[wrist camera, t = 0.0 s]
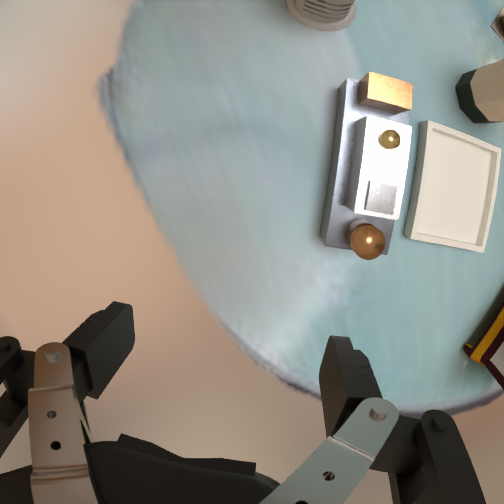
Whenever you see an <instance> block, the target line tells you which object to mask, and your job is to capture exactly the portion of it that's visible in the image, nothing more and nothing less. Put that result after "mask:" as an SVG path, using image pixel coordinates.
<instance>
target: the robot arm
mask: <svg viewBox="0 0 504 504" xmlns="http://www.w3.org/2000/svg"><path fill="white" fill-rule="evenodd" d="M134 342H135V332H134V320H133V309H132V306H131V305H129V304H124V303H120V302H115V301H114V302H112V303H111V304H110V305H109V306H108V307H107V308H106V309H105V310H100V311H98V312H96V313H94V314H92V315H91V316H89V318H87V319H86V320H85V322H83V323H82V324H81V325H80V326H79V327H78V328H77V329H76V330H75V331H74V332H73V333H72V334H70V335H69V336H68V337H67V338H66V339H65V340H64V341H63V342H62V343H58V342H52V343H47V344H44V345H42V346H41V347H39V348H38V349H37V351H36V352H33V351H26V350H22V349H21V346H20V343H19V341H18V340H17V339H16V338H14V337H10V336H5V337H1V338H0V384H1V383H2V382H3V384H4V386H5V388H6V391H5V392H4V393H3V395H2V396H1V397H0V458H1V456H2V455H3V453H4V452H5V450H6V449H7V447H8V446H9V444H10V443H11V441H12V440H13V438H14V437H15V435H16V434H17V432H18V431H19V430H20V428H21V427H22V425H23V424H24V422H25V421H26V420H27V418H28V417H29V435H30V448H31V457H32V465H29V466H26V467H23V468H19V469H16V470H13V471H10V472H6V473H3V474H0V504H343V503H344V502H345V501H346V499H347V498H348V497H349V496H350V494H351V493H352V492H353V490H354V489H355V487H356V486H357V485H358V483H359V482H360V481H361V479H362V477H363V476H364V475H365V473H366V472H367V470H368V469H372V470H377V471H382V472H388V475H389V481H390V487H391V493H392V500H393V504H486V502H485V499H484V495H483V492H482V490H481V487H480V484H479V481H478V478H477V476H476V473H475V470H474V467H473V465H472V463H471V460H470V457H469V455H468V452H467V450H466V447H465V445H464V442H463V440H462V438H461V435H460V433H459V431H458V428H457V426H456V424H455V422H454V420H453V418H452V417H451V416H450V415H448V414H447V413H445V412H443V411H440V410H429V411H426V412H425V413H424V414H423V415H422V417H421V418H420V419H415V418H410V417H405V416H401V415H399V413H398V410H397V408H396V407H395V406H394V405H393V404H392V403H391V402H389V401H387V400H385V399H383V398H382V395H381V392H380V389H379V387H378V384H377V381H376V378H375V376H374V373H373V370H372V368H371V365H370V363H369V360H368V358H367V357H366V356H365V355H364V354H363V353H362V352H361V351H360V350H354V349H353V346H352V343H351V341H350V338H349V337H342V336H330V337H329V339H328V342H327V346H326V349H325V353H324V356H323V360H322V363H321V367H320V372H319V384H320V391H321V398H322V405H323V413H324V420H325V428H326V436H327V438H326V439H325V440H324V442H323V443H322V444H321V445H320V446H319V447H318V448H317V449H316V450H315V451H314V452H313V453H312V454H311V455H310V456H309V457H308V459H307V460H306V461H305V462H304V463H303V464H302V465H301V466H300V467H299V468H298V469H296V470H295V471H294V472H293V473H292V474H291V475H290V476H289V477H288V478H287V479H286V480H285V481H284V482H283V483H282V484H280V483H278V482H277V481H275V480H273V479H272V478H269V477H267V476H265V475H263V474H260V473H257V472H255V469H256V463H253V462H245V461H237V460H230V459H224V458H182V457H180V456H178V455H175V454H173V453H171V452H169V451H167V450H165V449H163V448H161V447H159V446H157V445H155V444H153V443H151V442H147V441H144V440H141V439H137V438H134V437H130V436H128V435H125V434H121V435H120V437H119V439H118V441H100V442H94V440H93V436H92V432H91V428H90V424H89V420H88V415H87V411H86V406H85V403H84V399H85V398H86V396H89V397H92V398H94V399H98V398H99V396H100V395H101V394H102V392H103V391H104V389H105V388H106V386H107V385H108V383H109V382H110V380H111V379H112V377H113V376H114V375H115V373H116V372H117V370H118V369H119V367H120V366H121V365H122V363H123V362H124V361H125V359H126V358H127V356H128V355H129V353H130V352H131V351H132V349H133V346H134Z"/></svg>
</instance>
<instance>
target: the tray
mask: <svg viewBox="0 0 504 504" xmlns="http://www.w3.org/2000/svg"><path fill="white" fill-rule="evenodd" d="M500 158H501V149H500V148H498V147H495V146H493V145H491V144H489V143H486V142H484V141H482V140H479V139H477V138H475V137H472V136H470V135H467V134H465V133H462V132H460V131H457V130H454V129H452V128H449V127H446V126H443V125H440V124H438V123H435V122H432V121H429V120H428V121H423V122H420V131H419V141H418V150H417V158H416V166H415V173H414V180H413V186H412V192H411V198H410V204H409V209H408V215H407V220H406V225H405V229H404V235H405V236H407V237H408V238H410V239H414V240H420V241H426V242H431V243H436V244H442V245H447V246H452V247H458V248H463V249H468V250H473V251H478V252H483V253H484V249H485V245H486V241H487V237H488V232H489V228H490V223H491V218H492V213H493V208H494V203H495V197H496V190H497V183H498V176H499V168H500Z"/></svg>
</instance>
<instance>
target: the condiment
mask: <svg viewBox="0 0 504 504" xmlns="http://www.w3.org/2000/svg"><path fill="white" fill-rule="evenodd" d="M492 28H493V29H494V30H495V32H496V33H497V34H498V35H499V36H500V38H501V39H502V40H503V41H504V9H503V8H502V10H501V11H500V13H499V15H498V16H497V18H496V20H495V21H494V23H493V24H492Z"/></svg>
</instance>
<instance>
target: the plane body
mask: <svg viewBox="0 0 504 504" xmlns="http://www.w3.org/2000/svg"><path fill="white" fill-rule="evenodd" d="M412 88H413V84H411V83H408V82H404V81H401V80H398V79H394V78H391V77H387V76H384V75H380V74H376V73H373V72H369V73H368V74H366V75H365V76H364V77H363V78H362V79H361V80H360V81H359V80H355V79H350V78H347V79H346V80H345V81H344V82H343V83H342V85H341V86H340V87H339V94H338V104H337V114H336V123H335V132H334V141H333V149H332V157H331V164H330V172H329V179H328V186H327V193H326V199H325V206H324V212H323V218H322V224H321V230H320V237H321V239H322V241H323V243H324V245H325V246H328V247H335V248H342V249H349V250H354V251H355V252H356V254H357V255H358V256H359V257H361V258H362V259H365V260H371V259H375V258H377V257H378V256H379V255H380V254H384V255H387V253H388V249H389V244H390V240H391V235H392V230H393V225H394V220H393V219H387V218H382V217H376V216H370V215H365V214H359V213H354V212H352V211H351V210H350V209H348V208H347V207H346V206H345V202H346V196H347V189H348V183H349V176H350V169H351V161H352V154H353V146H354V137H355V128H356V120H359V119H361V118H363V117H365V116H367V115H368V116H373V117H377V118H381V119H385V120H389V121H392V122H396V123H400V124H403V125H407V126H408V121H409V110H411V106H412Z"/></svg>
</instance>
